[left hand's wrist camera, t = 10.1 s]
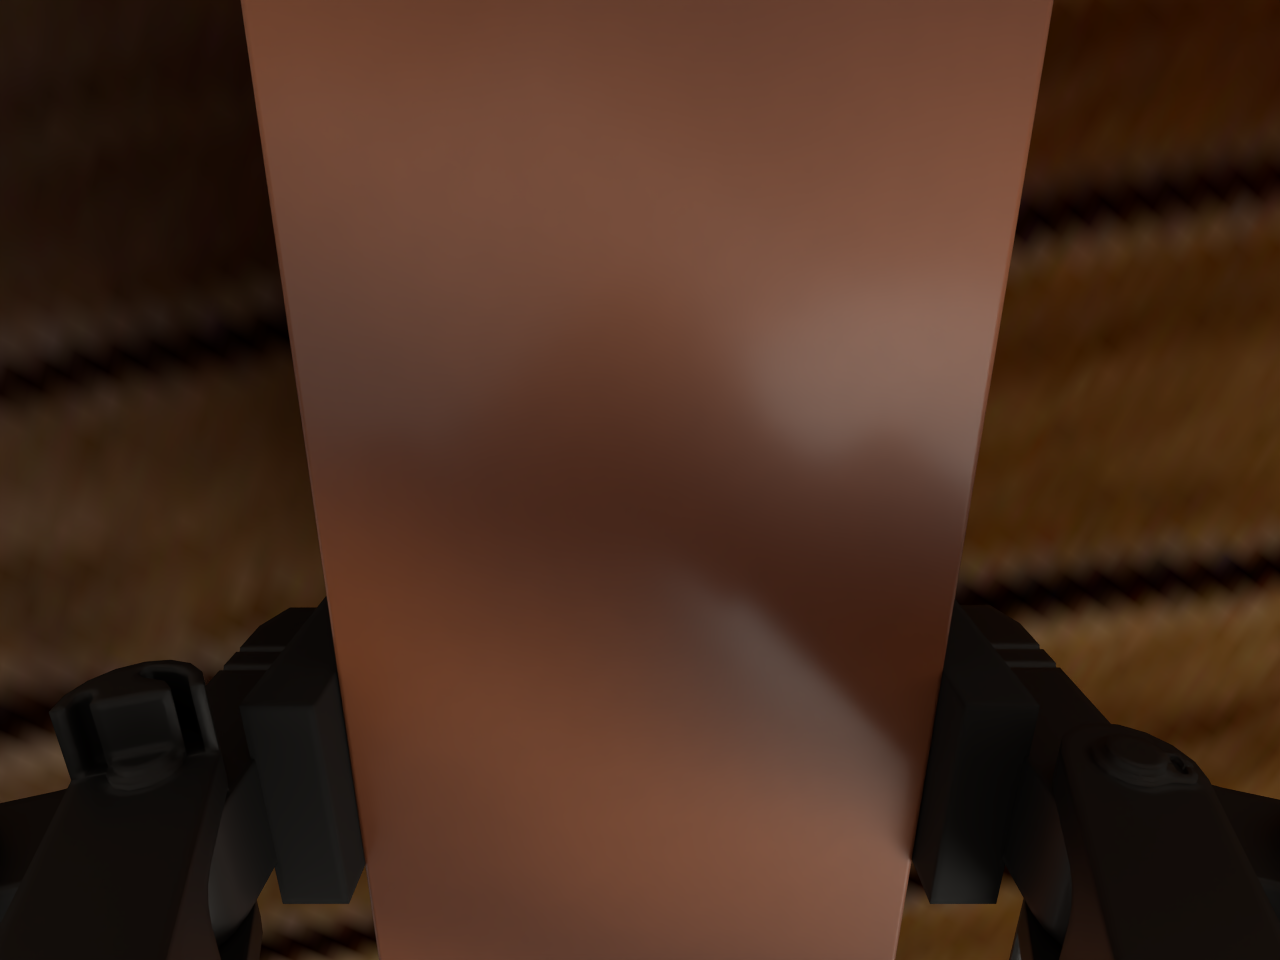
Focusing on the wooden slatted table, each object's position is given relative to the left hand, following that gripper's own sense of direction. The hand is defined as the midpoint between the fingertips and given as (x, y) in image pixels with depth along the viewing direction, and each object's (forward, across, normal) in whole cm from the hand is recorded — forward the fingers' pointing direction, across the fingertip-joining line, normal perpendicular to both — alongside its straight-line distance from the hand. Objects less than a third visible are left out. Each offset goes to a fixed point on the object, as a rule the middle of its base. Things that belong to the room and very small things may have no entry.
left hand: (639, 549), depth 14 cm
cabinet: (+3, 0, -4) cm, 4 cm away
